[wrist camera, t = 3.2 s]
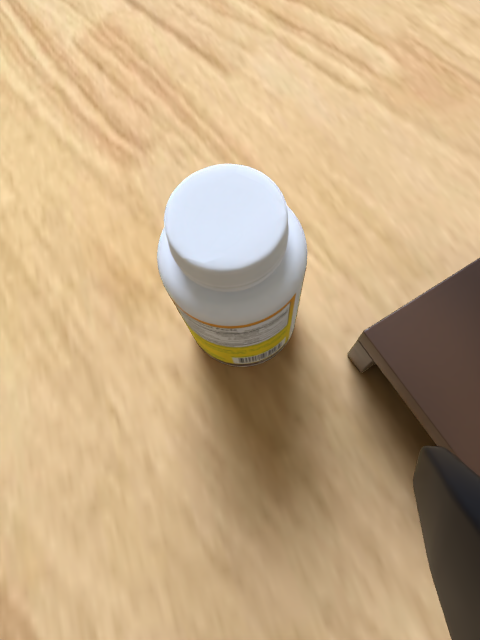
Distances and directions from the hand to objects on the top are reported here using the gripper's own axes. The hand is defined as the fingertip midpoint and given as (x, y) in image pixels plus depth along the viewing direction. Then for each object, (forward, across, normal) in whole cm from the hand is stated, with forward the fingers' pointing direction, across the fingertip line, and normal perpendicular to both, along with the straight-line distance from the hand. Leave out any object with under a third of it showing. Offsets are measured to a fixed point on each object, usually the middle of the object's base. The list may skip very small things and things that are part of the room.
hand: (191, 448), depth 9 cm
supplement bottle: (+14, 0, +4) cm, 15 cm away
